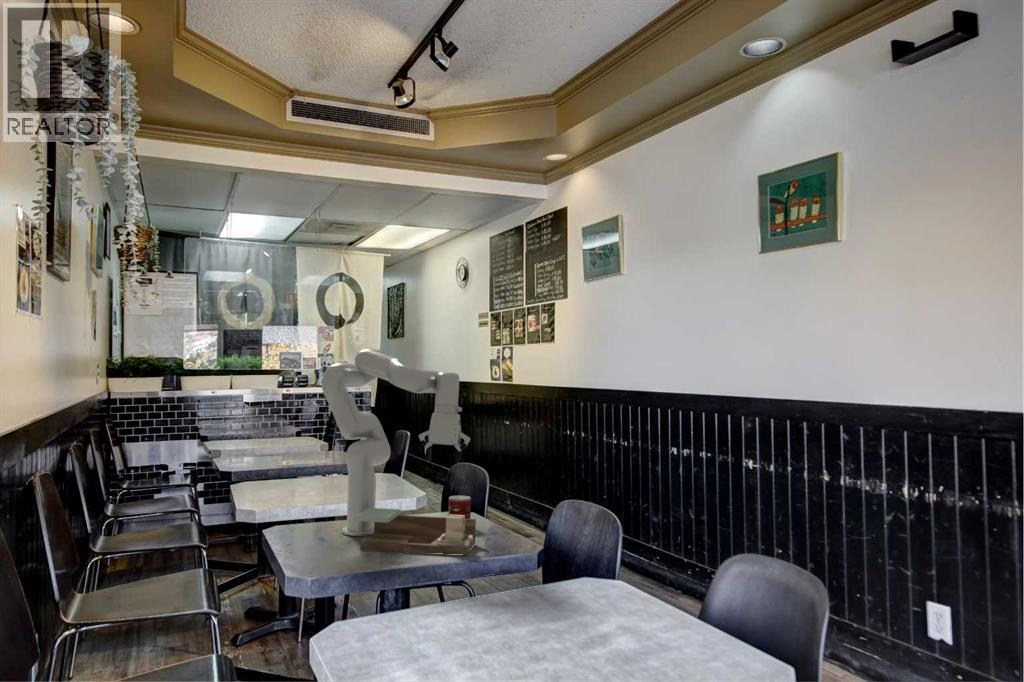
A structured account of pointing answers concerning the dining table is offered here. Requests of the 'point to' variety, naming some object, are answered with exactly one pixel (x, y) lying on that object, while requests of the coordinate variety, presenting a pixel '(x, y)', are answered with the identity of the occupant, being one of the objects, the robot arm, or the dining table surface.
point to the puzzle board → (418, 536)
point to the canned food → (460, 506)
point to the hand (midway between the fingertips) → (442, 461)
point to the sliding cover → (377, 515)
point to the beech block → (455, 527)
